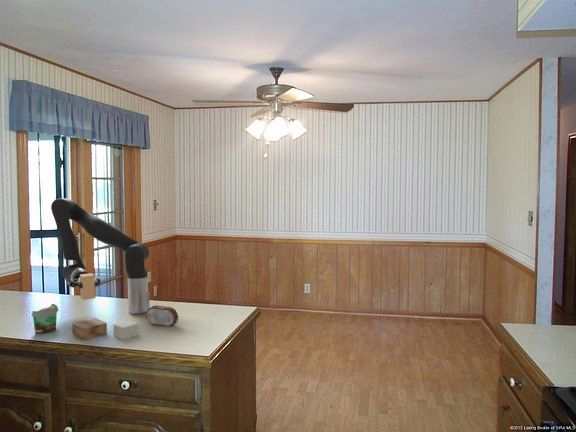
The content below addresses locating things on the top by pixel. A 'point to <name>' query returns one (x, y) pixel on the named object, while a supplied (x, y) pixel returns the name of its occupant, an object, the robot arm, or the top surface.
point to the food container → (45, 319)
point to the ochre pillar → (87, 286)
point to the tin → (162, 315)
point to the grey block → (125, 329)
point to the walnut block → (89, 328)
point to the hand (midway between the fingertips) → (88, 285)
